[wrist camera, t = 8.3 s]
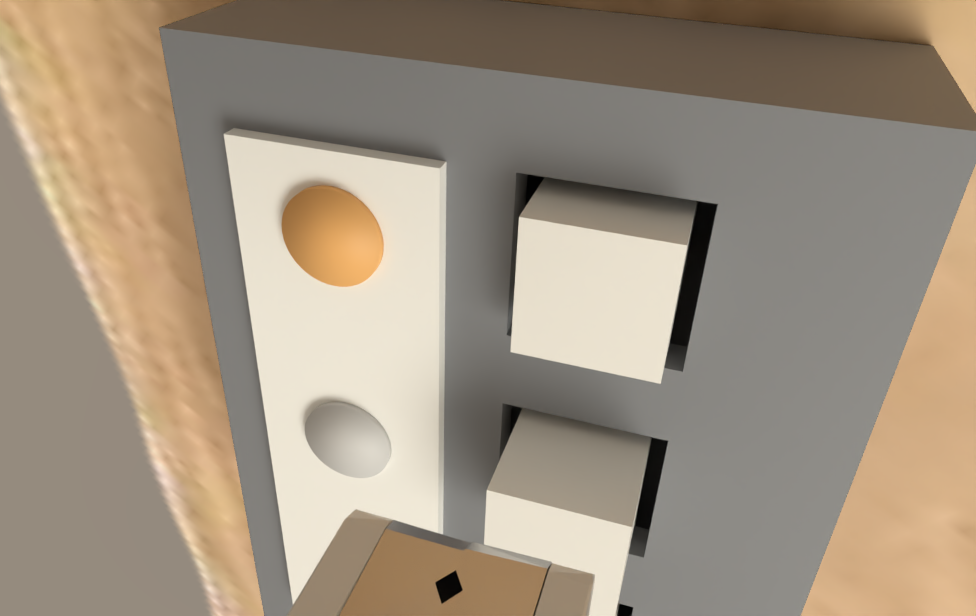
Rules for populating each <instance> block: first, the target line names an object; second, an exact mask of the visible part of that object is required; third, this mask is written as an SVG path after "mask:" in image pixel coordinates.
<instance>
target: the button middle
mask: <svg viewBox="0 0 976 616" xmlns="http://www.w3.org/2000/svg"><path fill="white" fill-rule="evenodd" d="M651 441H652V437H649V436H644V435H640V434H635V433H631V432H627V431H622V430H618V429H614V428H609V427H605V426H600V425H596V424H592V423H587V422H583V421H578V420H574V419H570V418H565V417H561V416H557V415H552V414H548V413H543V412H539V411H535V410H530V409H526V408H522V410H521V413H520V415H519V417H518V419H517V422H516V424H515V426H514V429H513V431H512V433H511V435H510V438H509V440H508V442H507V445H506V447H505V449H504V451H503V454H502V456H501V458H500V461H499V463H498V465H497V468H496V470H495V472H494V474H493V477H492V479H491V481H490V484H489V486H488V488H487V493H486V514H485V534H484V545H488V546H492V547H496V548H500V549H504V550H508V551H511V552H515V553H519V554H523V555H527V556H531V557H535V558H539V559H543V560H547V561H551V562H552V563H553V564H557V565H561V566H565V567H569V568H573V569H576V570H580V571H584V572H588V573H592V574H595V583H594V589H593V595H592V601H591V607H590V613H589V616H615V615H616V610H617V605H618V601H619V596H620V591H621V586H622V582H623V577H624V572H625V567H626V563H627V558H628V553H629V548H630V543H631V539H632V534H633V529H634V524H635V520H636V515H637V510H638V505H639V501H640V496H641V491H642V486H643V481H644V477H645V471H646V466H647V461H648V456H649V451H650V446H651Z"/></svg>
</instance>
